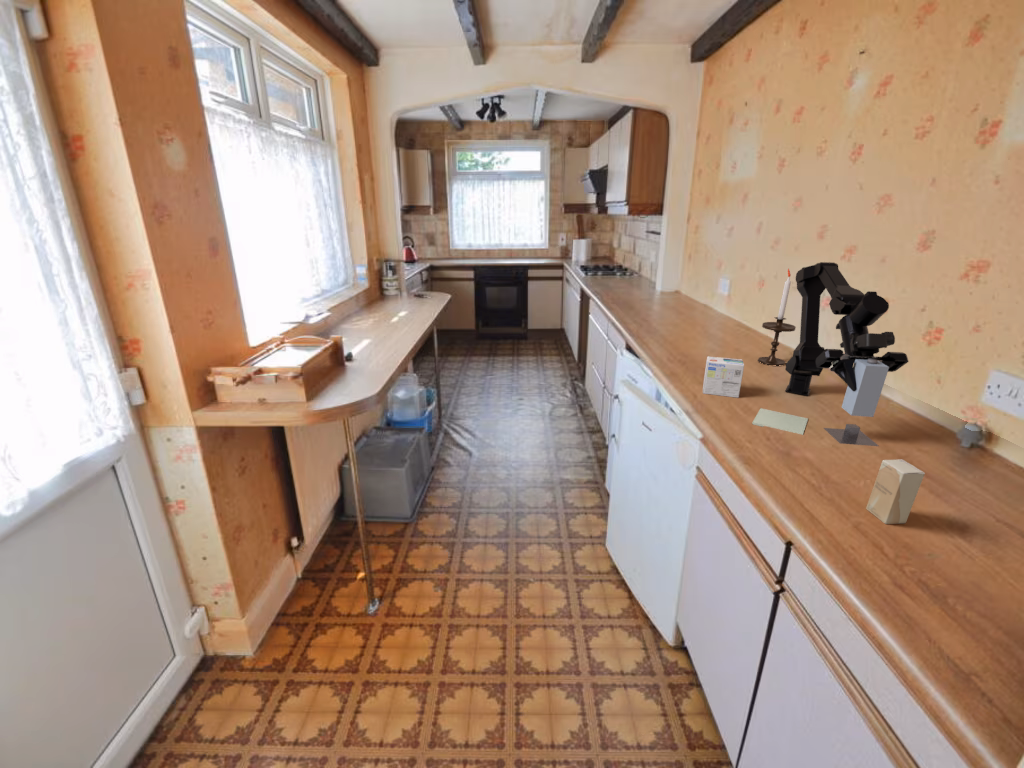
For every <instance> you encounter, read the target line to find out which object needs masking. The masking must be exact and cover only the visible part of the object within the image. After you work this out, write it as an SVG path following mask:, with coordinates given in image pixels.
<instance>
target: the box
mask: <svg viewBox="0 0 1024 768" xmlns="http://www.w3.org/2000/svg"><path fill="white" fill-rule="evenodd" d="M925 474H926V473H925V472H924V471H923V470H921V469H919V468H917V467H916V466H915V465H913V464H911V463H909V462H907V461H906V460H904V459H901V458H900V459H899V458H898V459H883V460H882V461H881V464H880V467H879V470H878V472H877V476H876V478H875V481H874V485H873V486H872V490H871V493H870V496H869V498H868V501H867V505H866V507H865V509H866V510H867V511H868V512H870V514H872V515H874V517H876V518H877V519H878V520H879V521H881V522H882V523H884V524H885V525H895V524H896V525H897V524H906V523H907V520H908V518H909V516H910V513H911V511H912V508H913V505H914V504H915V503H914V502H915V501H916V497H917V495H918V492H919V490H920V487H921V484H922V483H923V479H924V478H925Z"/></svg>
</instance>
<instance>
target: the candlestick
mask: <svg viewBox="0 0 1024 768" xmlns="http://www.w3.org/2000/svg"><path fill="white" fill-rule="evenodd" d="M790 279H791V272H790V268H788V269H787V279H786V281H784V286H783V290H782V296H781V300H780V304H779V309H778V313H777V317H774V319H775V320H776V322H775V321H766V322H762V325H761V327H762V328H763V329H766V330H770V331H773V332H774V338H773V341H771V342H770V345H771V346H772V347H771V348H770V349H769V350H770V352H771V353H770V355H769V356H760V357H758V359H757V362H758V361H759V362H758V363H760V362H761V363H760V364H762V363H763V364H762V365H765V364H767V365H766V366H769V365H776V366H775V367H780V366H779V365H784V364H785V365H786V361H785V360H784V359H781V358H779V357H778V358H777V357H776V352H777V351H778V349H777V348H778V346H780V342H779V337H780V334H781V333H782V332H783V333H784V332H785V333H786V332H795V331H796V328H797V327H796V326H795V325H793V324H791V323H785V322H784V320H787V318H786V317H784V316H785V313H786V308H787V304H788V298H789V295H790V294H789V293H790V288H791V283H792V281H791V280H790ZM785 365H784V366H785Z"/></svg>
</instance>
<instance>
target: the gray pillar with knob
mask: <svg viewBox="0 0 1024 768" xmlns="http://www.w3.org/2000/svg"><path fill="white" fill-rule="evenodd" d="M888 369H889V367H888V366H887V365H885V364H883V363H881V362H880V361H878V360H876V359H868V360H862V359H855V362H854V364H853V371H854V376H855V380H856V385H857V390H856V391H852V390H851V388H850V387H849V386H848V385H847V387H846V391H845V394H844V397H843V400H842V405H841V408H842V409H843V410H844V411H845V412H847V414H849V415H850V416H853V417H866V418H867V417H870V418H874V416H875V413H876V409H877V406H878V403H879V400H880V397H881V394H882V390H883V388H884V385H885V382H886V379H887V375H888Z"/></svg>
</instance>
